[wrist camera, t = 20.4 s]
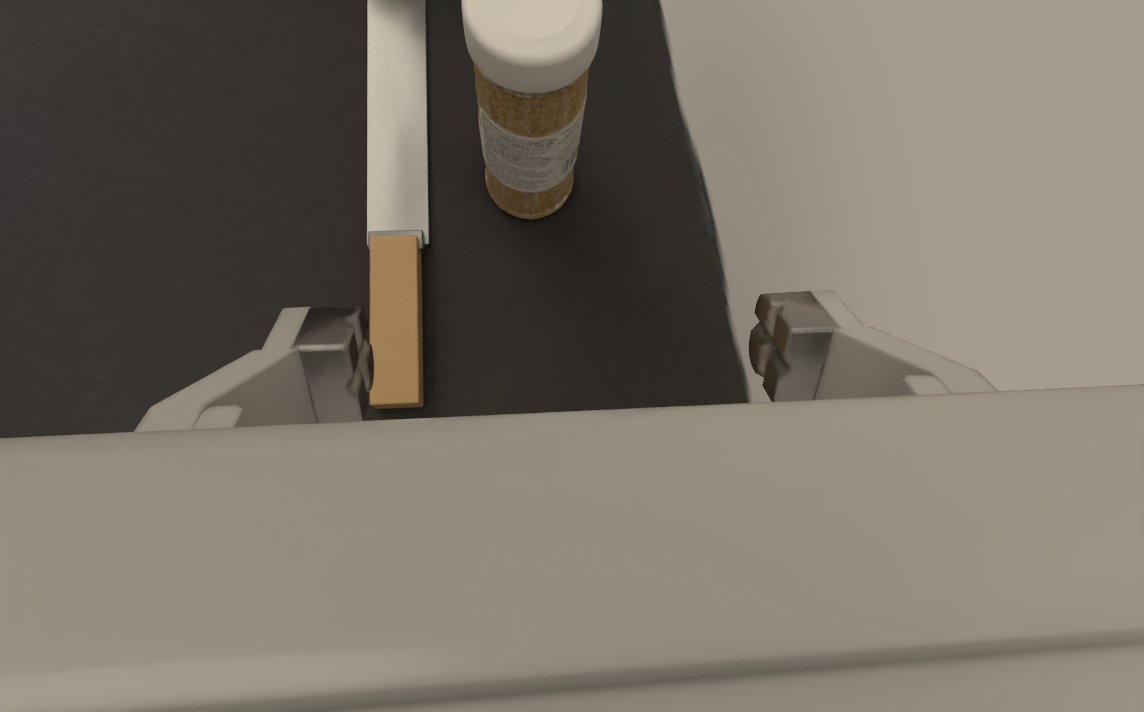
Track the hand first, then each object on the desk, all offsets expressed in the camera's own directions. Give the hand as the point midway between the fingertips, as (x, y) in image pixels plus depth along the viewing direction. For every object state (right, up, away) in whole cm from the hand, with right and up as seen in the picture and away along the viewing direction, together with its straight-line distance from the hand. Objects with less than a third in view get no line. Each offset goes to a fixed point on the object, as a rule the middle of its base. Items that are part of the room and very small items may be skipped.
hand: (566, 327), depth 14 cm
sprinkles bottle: (-2, +8, +21) cm, 22 cm away
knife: (-9, +8, +20) cm, 23 cm away
